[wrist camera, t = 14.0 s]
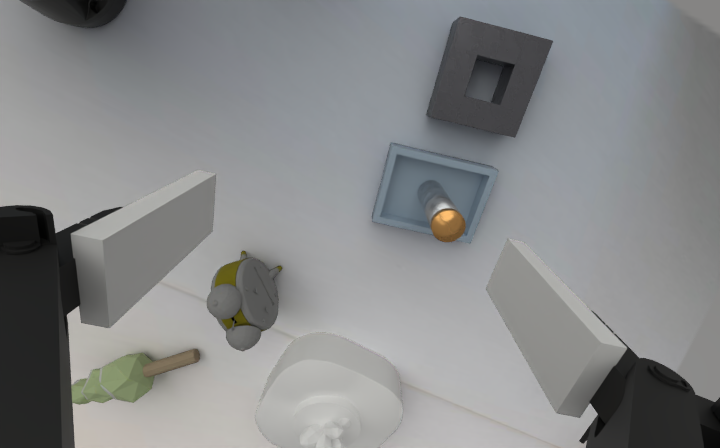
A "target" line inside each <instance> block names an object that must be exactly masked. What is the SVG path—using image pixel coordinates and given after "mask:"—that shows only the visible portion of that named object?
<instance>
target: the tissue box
mask: <svg viewBox="0 0 720 448" xmlns="http://www.w3.org/2000/svg"><path fill="white" fill-rule="evenodd" d="M402 416H403V406H402V396H401V385H400V376H399V373H398V371H397V369H396V368H395V366H394V365H393V364H392V363H391V362H390V361H389V360H388V359H386V358H385V357H383V356H381V355H380V354H378V353H376V352H374V351H372V350H369V349H367V348H365V347H363V346H361V345H359V344H357V343H355V342H353V341H351V340H349V339H347V338H345V337H342V336H340V335H337V334H332V333H326V332H314V333H309V334H306V335H303V336H301V337H299V338H297V339H296V340H294V341H293V342H292V343H291V344H290V345H289V346H288V347H287V349H286V350H285V352H284V353H283V355H282V356H281V358H280V359H279V361H278V362H277V364H276V365H275V367H274V368H273V370H272V372H271V373H270V375H269V377H268V379H267V382H266V385H265V388H264V390H263V393H262V396H261V399H260V402H259V404H258V407H257V410H256V414H255V420H256V424H257V426H258V428H259V430H260V432H261V433H262V434H263V436H264V437H265V438H266V439H267V440H268V441H270V442H271V443H273V444H274V445H276V446H278V447H281V448H379V447H380V446H381V445H382V444H383V443H384V441H385V440H386V439H387V438H388V437H389V436H391V435H392V434H393V433H394V432H395V431H396V429H397V428H398V427H399V425H400V423H401V421H402Z"/></svg>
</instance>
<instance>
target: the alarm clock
mask: <svg viewBox="0 0 720 448" xmlns="http://www.w3.org/2000/svg"><path fill="white" fill-rule="evenodd" d="M281 269H282V267H281V266H278V267H276V268H274V269H272V270H270V271H269V270H268V268H267V267H266V265H265V264H264V263H263V262H261V261H260V260H258V259H255V258H247V255H246V252H245V251H242V252H241V258H240V260H239V261H236V262H233V263H229V264H227V265H224V266H223V267H221V268H220V269H219V270H218V271H217V273H216V274H215V276H214V278H213V281H212V285H211V292H210V294H209V295H208V298H207V308H208V310H209V312H210V313H211V314H212V315H213V316H214V317H216V318H217V320H218V322H219V324H220V325H221V326H222V328H223V329H224V330H225V331H226V338H227V341H228V343H229V344H230V345H231V347H233V348H235V349H237V350H240V351H245V350H247V349H250V348H252V347H253V346H254V345H255V344H256V343H257V342H258V341H259V339H260V336H261V331H265V330H267V329H269V328H270V327H271V326H272V325H273V324H274V322H275V321H276V318H277V315H278V300H279V299H278V293H277V288H276V285H275V282H274V279H273V278H274V277H275V276H276V274H277V273H278V272H280V270H281Z"/></svg>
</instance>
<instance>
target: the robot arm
mask: <svg viewBox="0 0 720 448" xmlns="http://www.w3.org/2000/svg"><path fill="white" fill-rule="evenodd" d="M20 1H21V2H23V3H25V4H26V5H28V6H30V7H31V8H33V9H35V10H36V11H38V12H39V13H41V14H43V15H44V16H46V17H48V18H50V19H53V20H55V21H58V22H60V23H64V24H68V25H73V26H78V27H85V28H90V27H97V26H101V25H104V24H106V23H108V22H109V21H111V20H112V19H113V18H115V17H116V16H117V14H118V13H119V12H120V11H121V9H122V7H123V6H124V4H125V1H126V0H20ZM215 185H216V174H215V173H210V172H206V171H201V170H197V171H195V172H193V173H191V174H189V175H187V176H185V177H183V178H181V179H179V180H177V181H175V182H173V183H171V184H169V185H167V186H165V187H163V188H161V189H159V190H157V191H155V192H153V193H151V194H149V195H147V196H145V197H143V198H141V199H139V200H137V201H135V202H133V203H131V204H129V205H127V206H125V207H118V208H113V209H109V210H105V211H102V212H100V213H98V214H95V215H93V216H91V217H90V219H89V218H87V219H85V220H83V221H81V222H80V223H79V224H74V225H72V226H70V227H68V228H66V229H64V230H62V231H60V232H58V233H56V234H55V227H54V220H53V214H52V213H51V211H50V210H47V209H45V208H42V207H36V206H22V205H15V206H4V207H0V448H75V444H74V425H73V407H72V389H71V370H70V352H69V334H68V321H67V314H68V313H70V312H71V311H72V310H74V309H75V308H76V307H78V306H79V309H80V317H81V323H85V324H90V325H95V326H101V327H106V328H110V327H111V326H112V325H114V324H115V323H116V322H117V321H118V320H119V319H120V318H121V317H122V316H123V315H124V314H125V313H126V312H127V311H128V310H129V309H131V308H132V307H133V306H134V305H135V304H136V303H137V302H138V301H139V300H140V299H141V298H142V297H143V296H144V295H145V294H147V293H148V292H149V291H150V290H151V289H152V288H153V287H154V286H155V285H156V284H157V283H158V282H159V281H160V280H161V279H162V278H164V277H165V276H166V275H167V274H168V273H169V272H170V271H171V270H172V269H173V268H174V267H175V266H176V265H177V264H178V263H180V262H181V261H182V260H183V259H184V258H185V257H186V256H187V255H188V254H189V253H190V252H191V251H192V250H193V249H194V248H195V247H197V246H198V245H199V244H200V243H201V242H202V241H203V240H204V239H205V238H206V237H207V236H208V235H209V234H210V233H211V232H213V218H214V202H215ZM486 290H487V292H488V294H489V296H490V297H491V299H492V301H493V303H494V305H495V306H496V308H497V310H498V312H499V313H500V315H501V317H502V319H503V320H504V322H505V324H506V326H507V328H508V329H509V331H510V333H511V335H512V336H513V338H514V340H515V342H516V343H517V345H518V347H519V349H520V351H521V352H522V354H523V356H524V358H525V359H526V361H527V363H528V365H529V366H530V368H531V370H532V372H533V373H534V375H535V377H536V379H537V381H538V382H539V384H540V386H541V388H542V389H543V391H544V393H545V395H546V396H547V398H548V400H549V402H550V404H551V405H552V407H553V409H554V411H555V412H556V413H558V414H563V415H568V416H574V417H579V418H580V417H581V415H582V414H583V412H584V411H585V409H586V408H587V407H588V405H589V404H590V403H591V405H592V406H593V408H594V409H595V411H596V412H597V413H598V415H597V417H596V418H595V419H594V421H593V422H592V424H591V425H590V426H589V428H588V429H587V431H586V432H585V433H584V435H583V436H582V438H581V439H580V440H579V441H580V442H581V443H583V444H584V442H585V441H586V440H587V445H586V448H720V398H719V399H718V400H717V401H716V402H713V401H710V400H708V399H705V398H703V397H700V396H698V395H695V392H694V390H693V388H692V387H691V386H690V384H689V383H688V382H687V381H686V380H685V379H683V378H682V377H681V376H680V375H678V374H677V373H676V372H674V371H673V370H671V369H669V368H668V367H666V366H664V365H662V364H660V363H658V362H655V361H653V360H649V359H646V358H639V357H638V356H637V355H636V354H635V353H634V352H633V351H632V350H631V349H630V348H629V347H628V346H627V345H626V344H625V343H624V342H623V341H622V340H621V339H620V338H619V337H618V336H617V335H616V334H613V331H612V330H611V329H610V328H609V327H608V326H607V325H605V323H604V322H603V321H602V320H601V319H600V318H599V317H598V316H597V315H596V314H595V313H594V312H593V311H591V310H590V309H589V308H588V307H587V306H586V305H585V304H584V303H583V302H582V301H581V300H580V299H579V298H578V297H577V296H576V295H575V294H574V293H573V292H572V291H571V290H570V289H569V288H568V287H567V286H566V285H565V284H564V283H563V282H562V281H561V280H560V279H559V278H558V277H557V275H556V274H555V273H554V272H553V271H552V270H551V269H550V268H549V267H548V266H547V265H546V264H545V263H544V262H543V261H542V260H541V259H540V258H539V257H538V256H537V255H536V254H535V253H534V252H533V251H532V250H531V249H530V248H529V247H528V246H527V245H526V244H525V243H524V242H522V241H517V240H513V239H507V241H506V244H505V246H504V248H503V250H502V253H501V255H500V257H499V260H498V262H497V264H496V266H495V269H494V271H493V273H492V276H491V278H490V280H489V282H488V285H487V287H486Z"/></svg>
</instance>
